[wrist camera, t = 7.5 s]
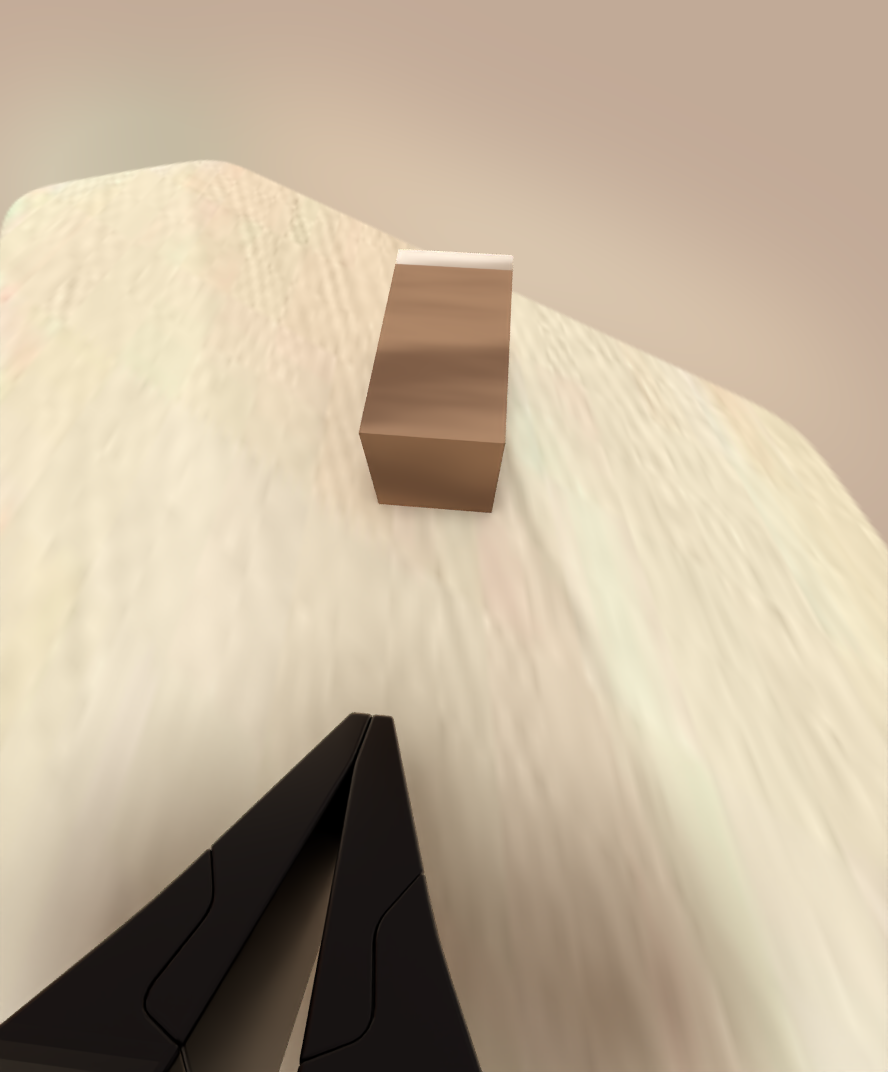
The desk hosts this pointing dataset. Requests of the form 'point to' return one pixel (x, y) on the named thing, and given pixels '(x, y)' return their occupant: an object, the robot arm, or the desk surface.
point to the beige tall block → (440, 382)
